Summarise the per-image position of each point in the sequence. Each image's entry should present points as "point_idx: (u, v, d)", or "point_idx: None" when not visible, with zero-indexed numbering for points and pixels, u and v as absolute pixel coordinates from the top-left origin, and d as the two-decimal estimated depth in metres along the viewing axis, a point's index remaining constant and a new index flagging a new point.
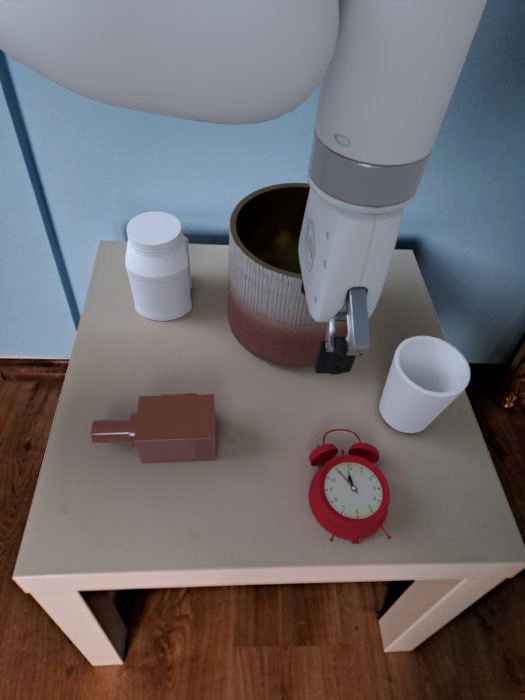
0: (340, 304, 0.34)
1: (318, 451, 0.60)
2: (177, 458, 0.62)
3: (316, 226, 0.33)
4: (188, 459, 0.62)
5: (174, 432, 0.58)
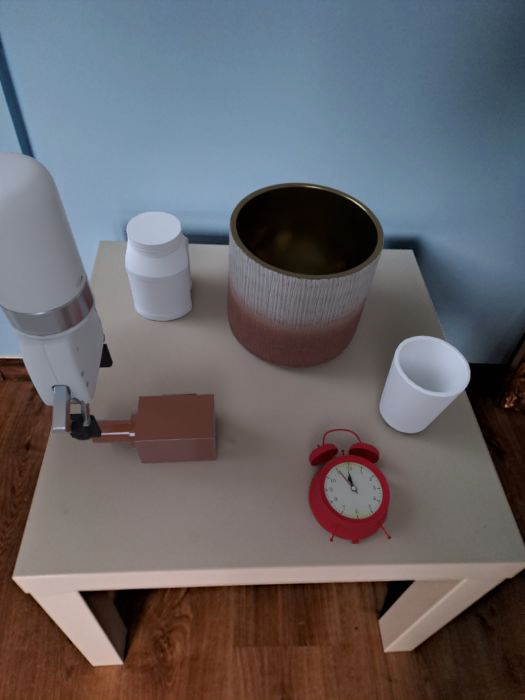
0: (53, 395, 0.44)
1: (318, 451, 0.60)
2: (177, 458, 0.62)
3: None
4: (188, 459, 0.62)
5: (174, 432, 0.58)
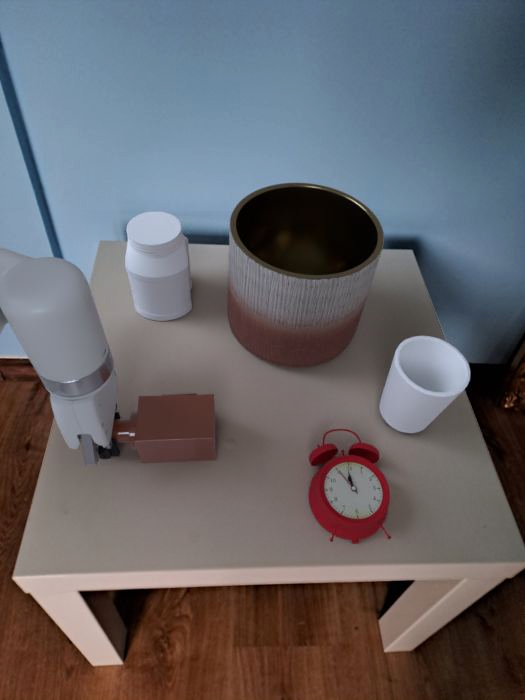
0: (77, 442, 0.52)
1: (318, 451, 0.60)
2: (177, 458, 0.62)
3: None
4: (188, 459, 0.62)
5: (174, 432, 0.58)
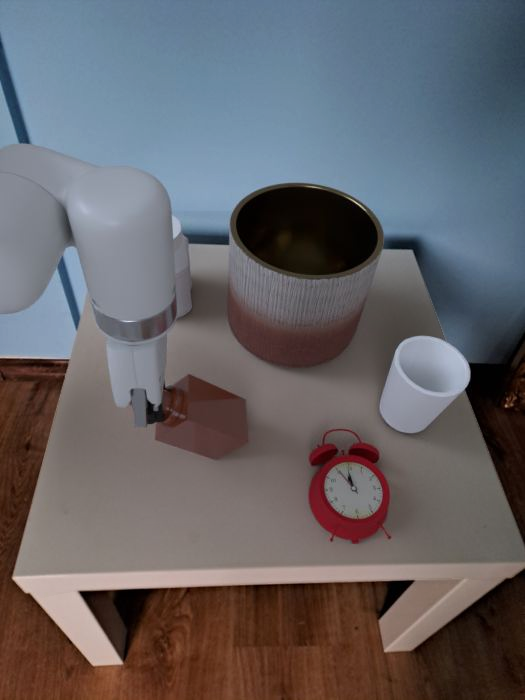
0: (129, 398, 0.46)
1: (318, 451, 0.60)
2: (190, 447, 0.59)
3: None
4: (197, 451, 0.60)
5: (219, 424, 0.57)
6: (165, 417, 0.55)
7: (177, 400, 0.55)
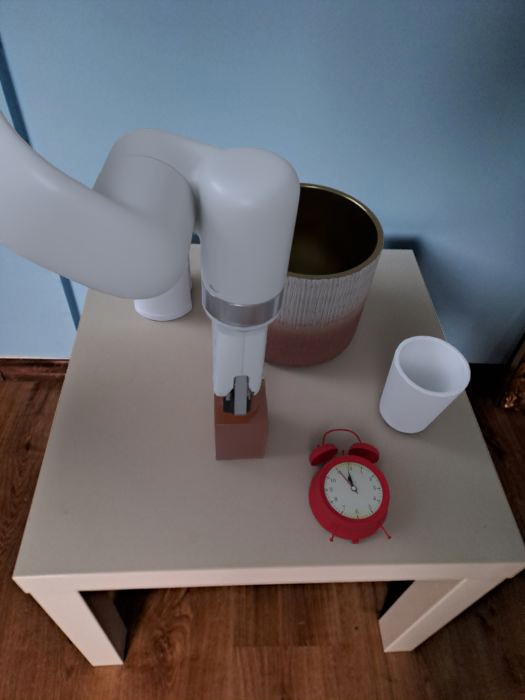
0: (231, 386, 0.45)
1: (318, 451, 0.60)
2: (222, 443, 0.59)
3: (212, 329, 0.45)
4: (220, 448, 0.60)
5: None
6: None
7: (260, 400, 0.56)
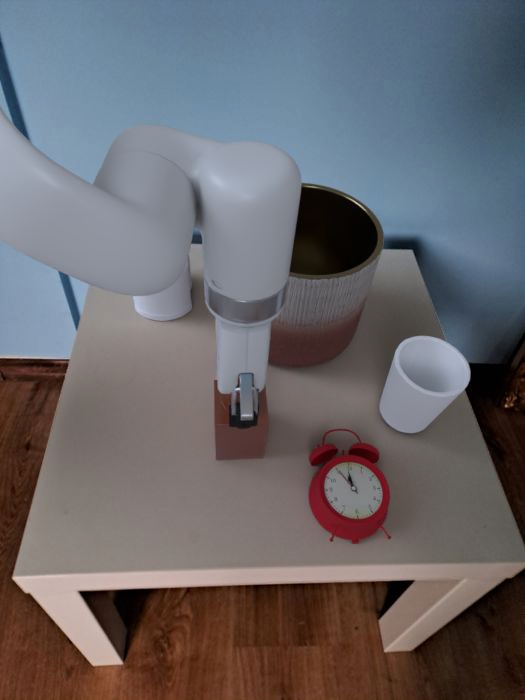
0: (235, 383, 0.45)
1: (318, 451, 0.60)
2: (222, 443, 0.59)
3: None
4: (220, 448, 0.60)
5: None
6: None
7: (260, 400, 0.57)
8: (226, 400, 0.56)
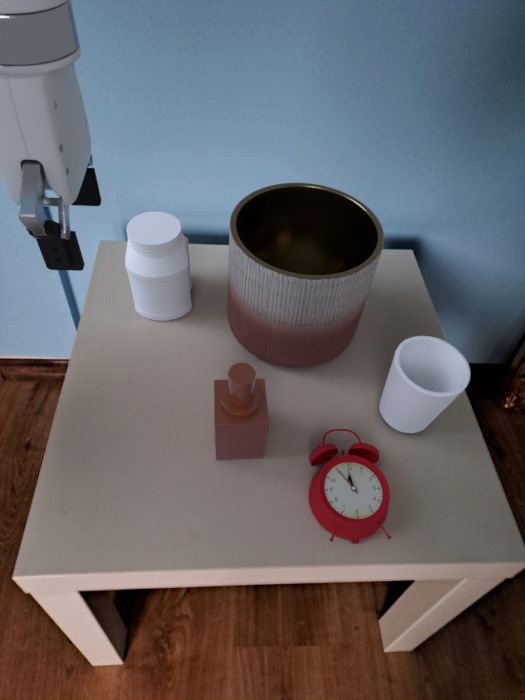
0: None
1: (318, 451, 0.60)
2: (222, 443, 0.59)
3: None
4: (220, 448, 0.60)
5: None
6: (243, 410, 0.55)
7: (260, 400, 0.57)
8: (226, 400, 0.56)
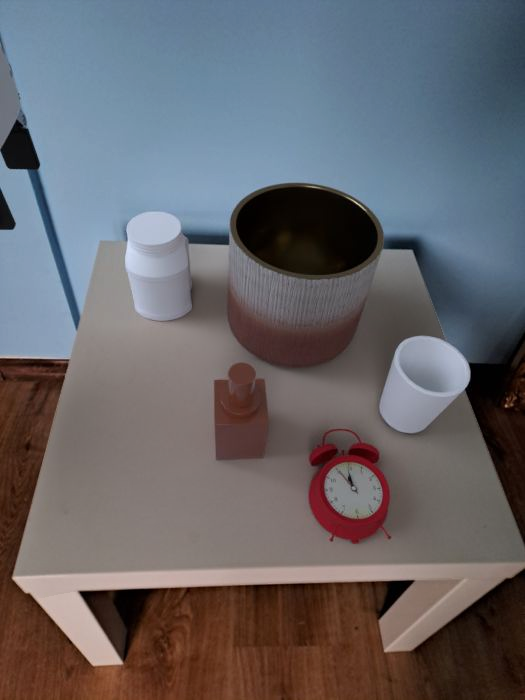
0: None
1: (318, 451, 0.60)
2: (222, 443, 0.59)
3: None
4: (220, 448, 0.60)
5: None
6: (243, 410, 0.55)
7: (260, 400, 0.57)
8: (226, 400, 0.56)
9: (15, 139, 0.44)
